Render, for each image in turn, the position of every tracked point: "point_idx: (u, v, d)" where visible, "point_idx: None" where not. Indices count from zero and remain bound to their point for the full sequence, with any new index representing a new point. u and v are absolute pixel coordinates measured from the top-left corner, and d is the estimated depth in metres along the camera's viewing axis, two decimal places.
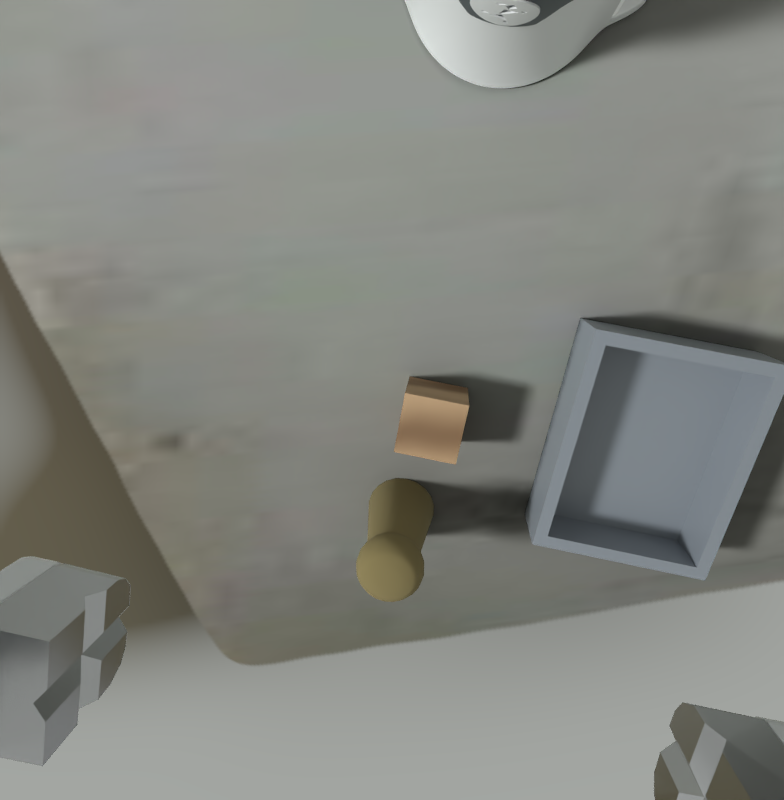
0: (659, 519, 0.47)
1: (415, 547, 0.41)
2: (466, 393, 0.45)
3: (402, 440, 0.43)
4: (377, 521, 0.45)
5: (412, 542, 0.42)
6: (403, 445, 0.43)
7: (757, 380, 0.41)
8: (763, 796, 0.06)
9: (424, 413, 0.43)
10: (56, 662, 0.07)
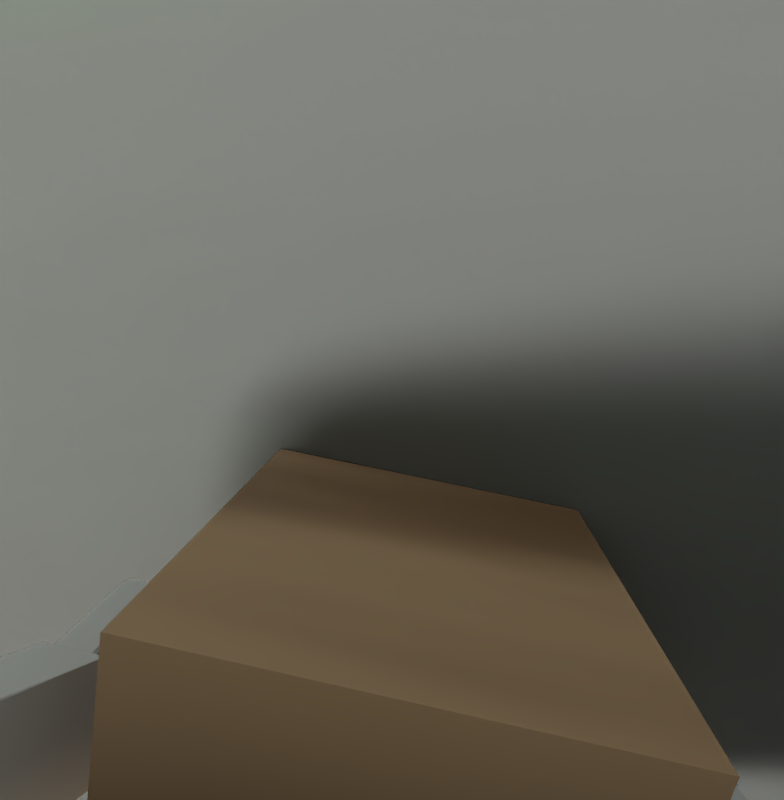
0: None
1: None
2: (600, 563, 0.07)
3: None
4: None
5: None
6: None
7: None
8: None
9: None
10: None
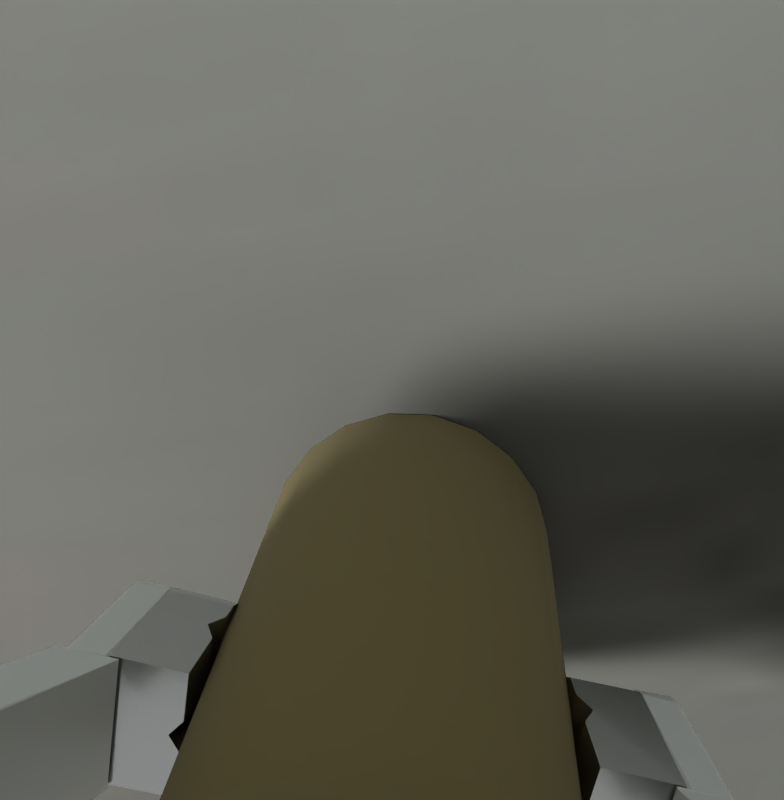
0: None
1: None
2: None
3: None
4: (253, 626, 0.06)
5: None
6: None
7: None
8: (612, 761, 0.06)
9: None
10: (191, 693, 0.06)
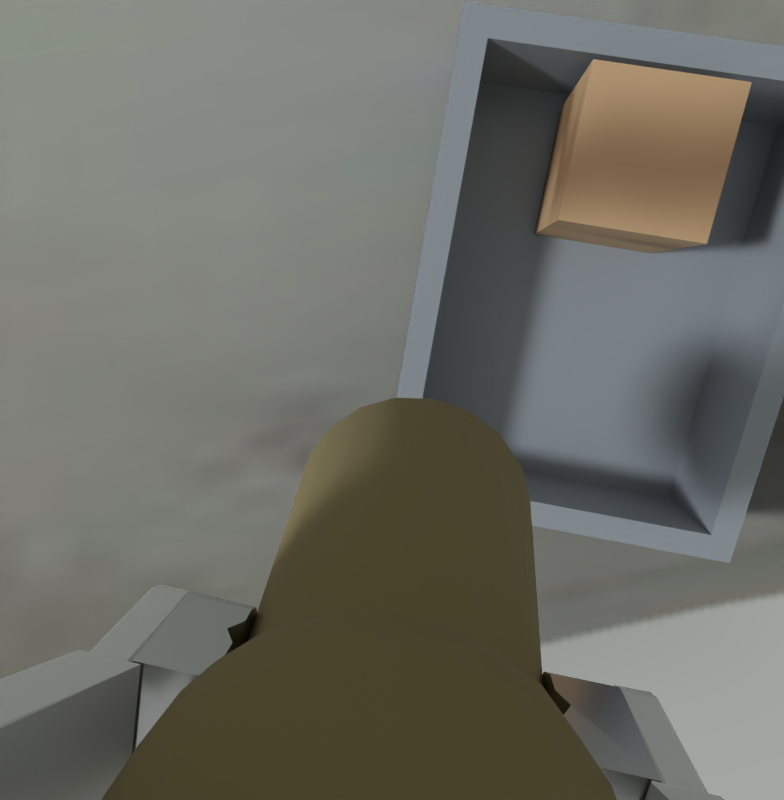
0: (633, 456, 0.25)
1: (577, 749, 0.05)
2: None
3: (579, 187, 0.18)
4: (301, 546, 0.09)
5: (540, 697, 0.05)
6: (582, 201, 0.18)
7: None
8: None
9: (637, 110, 0.18)
10: None
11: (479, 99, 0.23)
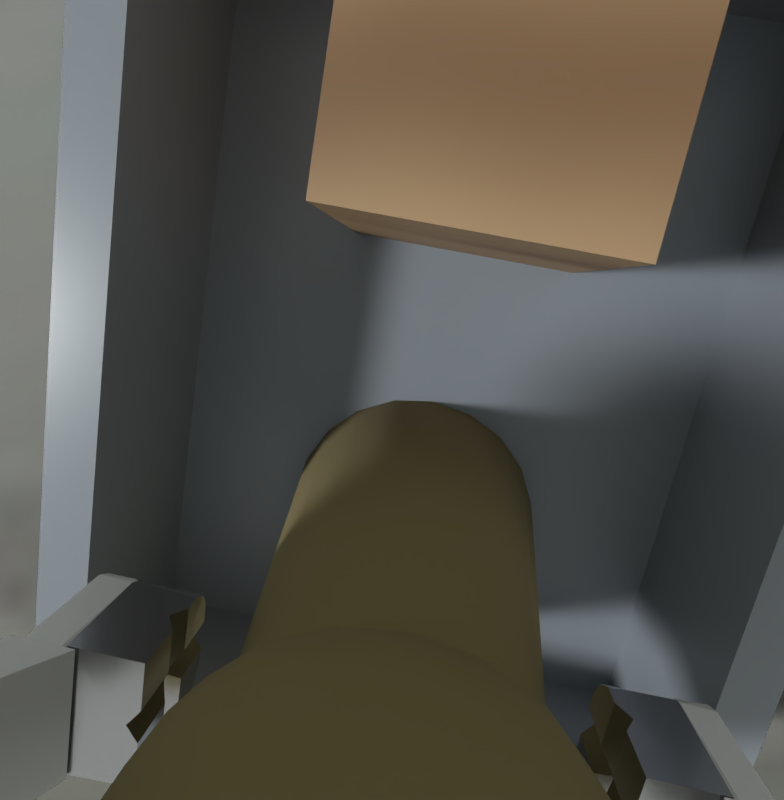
0: (543, 624, 0.14)
1: (582, 775, 0.05)
2: None
3: (350, 122, 0.08)
4: (297, 554, 0.08)
5: (544, 719, 0.05)
6: (358, 156, 0.08)
7: None
8: (658, 772, 0.06)
9: None
10: (149, 683, 0.06)
11: None
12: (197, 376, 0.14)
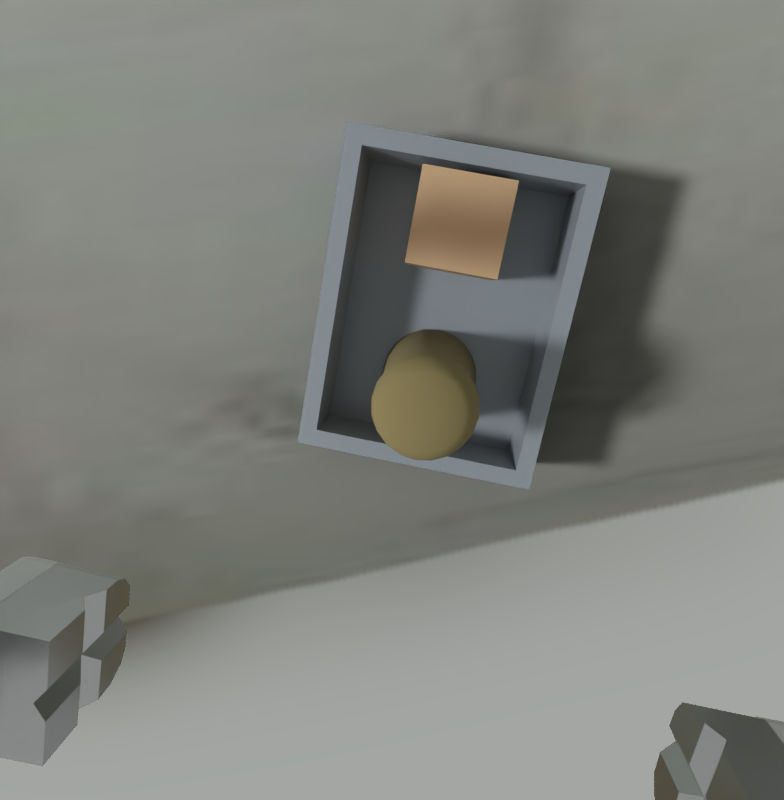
0: (482, 420, 0.36)
1: (466, 371, 0.26)
2: None
3: (417, 242, 0.29)
4: None
5: None
6: (419, 251, 0.29)
7: (574, 204, 0.31)
8: (763, 795, 0.06)
9: (450, 195, 0.28)
10: (56, 662, 0.07)
11: (371, 173, 0.33)
12: (345, 320, 0.35)
